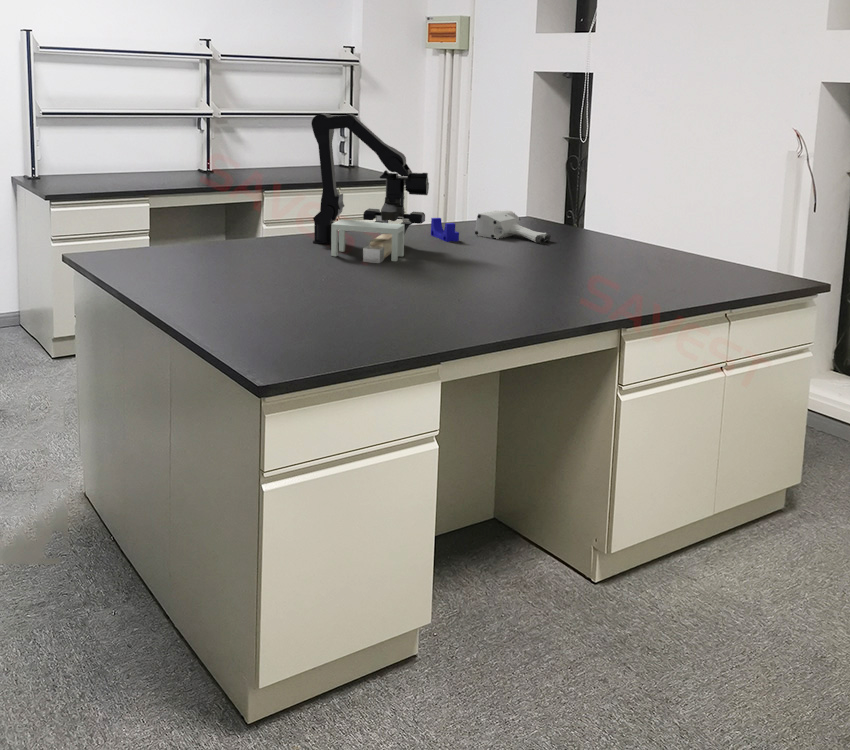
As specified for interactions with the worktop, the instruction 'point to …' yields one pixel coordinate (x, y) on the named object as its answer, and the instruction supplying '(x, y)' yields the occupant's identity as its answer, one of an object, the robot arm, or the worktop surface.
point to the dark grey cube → (373, 254)
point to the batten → (383, 243)
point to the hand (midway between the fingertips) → (393, 243)
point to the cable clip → (445, 234)
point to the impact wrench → (505, 226)
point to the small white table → (365, 226)
